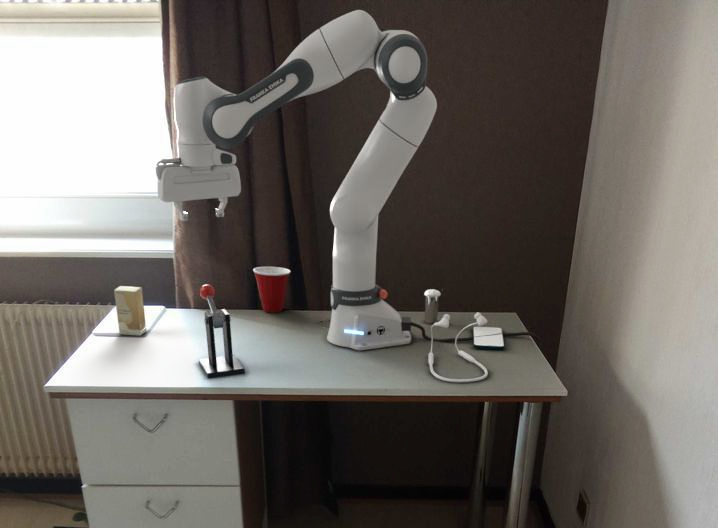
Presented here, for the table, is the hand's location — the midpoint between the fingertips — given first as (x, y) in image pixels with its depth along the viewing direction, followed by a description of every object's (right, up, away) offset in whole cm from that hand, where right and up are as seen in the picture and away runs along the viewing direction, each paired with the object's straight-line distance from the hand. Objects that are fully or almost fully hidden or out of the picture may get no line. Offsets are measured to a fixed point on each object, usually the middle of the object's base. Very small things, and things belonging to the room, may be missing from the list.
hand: (202, 218), depth 183 cm
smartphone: (+73, -26, +19) cm, 80 cm away
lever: (+3, -23, -2) cm, 23 cm away
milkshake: (+60, -18, +31) cm, 70 cm away
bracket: (+5, -36, 0) cm, 37 cm away
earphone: (+62, -36, +1) cm, 71 cm away
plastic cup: (+14, -12, +41) cm, 45 cm away
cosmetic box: (-23, -23, +23) cm, 40 cm away
